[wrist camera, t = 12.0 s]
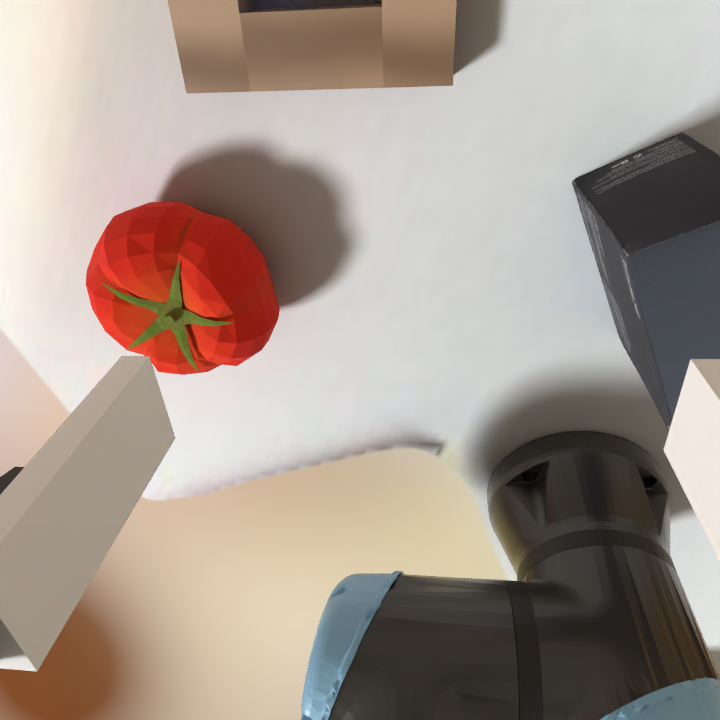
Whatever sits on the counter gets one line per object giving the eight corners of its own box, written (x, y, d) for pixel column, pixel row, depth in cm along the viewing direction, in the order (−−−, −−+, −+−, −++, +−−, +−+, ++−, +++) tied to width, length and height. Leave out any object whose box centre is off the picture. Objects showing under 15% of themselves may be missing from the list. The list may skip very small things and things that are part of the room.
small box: (721, 306, 39) (815, 419, 29) (618, 338, 41) (675, 453, 32) (687, 127, 33) (793, 195, 23) (569, 176, 35) (620, 258, 25)
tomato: (100, 280, 43) (36, 339, 37) (162, 147, 37) (99, 189, 30) (241, 365, 47) (207, 434, 40) (321, 256, 40) (297, 317, 33)
